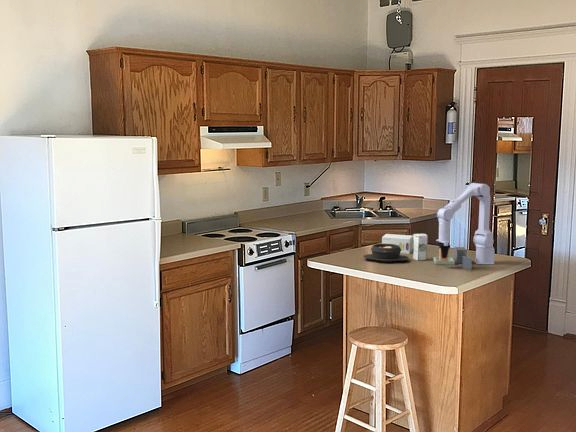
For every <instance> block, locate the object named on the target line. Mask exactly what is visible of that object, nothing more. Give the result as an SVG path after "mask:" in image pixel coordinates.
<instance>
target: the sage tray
mask: <svg viewBox="0 0 576 432" xmlns="http://www.w3.org/2000/svg"><path fill="white" fill-rule="evenodd" d="M453 259H454V257H450V256H448V261H440V260H439V256H433V257H432V261H433V263H434V264H435V266H455V261H454V260H453Z"/></svg>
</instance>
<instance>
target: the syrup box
mask: <svg viewBox="0 0 576 432" xmlns="http://www.w3.org/2000/svg"><path fill="white" fill-rule="evenodd" d="M413 236H414V238H413V251H412V259H413V260H415V261H417V262H418V261H427V258H428V257H427V256H428V234H426V233H413Z"/></svg>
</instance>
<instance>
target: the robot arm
mask: <svg viewBox="0 0 576 432" xmlns="http://www.w3.org/2000/svg"><path fill="white" fill-rule="evenodd" d="M490 190H491V187H490V186H489V185H488V184H486V183H477V182H471V183H470V184H468V185H467V186H466V189H465V190H464V191H463V192H462V193H461V194H460V196H458V197H457V198H454V199H451V200H450V201H449V202H448V204H446V205H444V207H442V208H439V209H438V211H437V213H436V217H437V220H438V239H436V240H435V241H436V242H437V244H438V245H437V246H438V247H439V248H441V253H442V258H447V254H448V255H449V251H450V248H451V245H450V243H451V220H452V219H453V217H454V215H455V213H456V212H458V211H459V210H460V209H461V208H462V204H464V203H465V202H466V201H467V200H469V199H470V198H471V197H475V198H477V199H478V200H479V207H478V208H479V209H478V214H479V215H478V228H477V230H475V231H474V236H473V240H472V241H473V244H474V245H475V260H473V262H474V263H475V264H476V265H495V247H494V246H493V245H494V241H495V240H494V236H493V235H494V234H493V232H492V231H491V230H490V215H491V199H492V198H491V193H490V192H491V191H490Z"/></svg>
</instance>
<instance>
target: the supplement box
mask: <svg viewBox="0 0 576 432" xmlns="http://www.w3.org/2000/svg"><path fill="white" fill-rule="evenodd" d="M413 238H414V234H412V235H409V234H407V235H406V234H393V233H385V234H384V235H383V236H382V237H381V244H395V245H399V246H400V249H401V252H400V254H407V255H409V254H411V253H413Z"/></svg>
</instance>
